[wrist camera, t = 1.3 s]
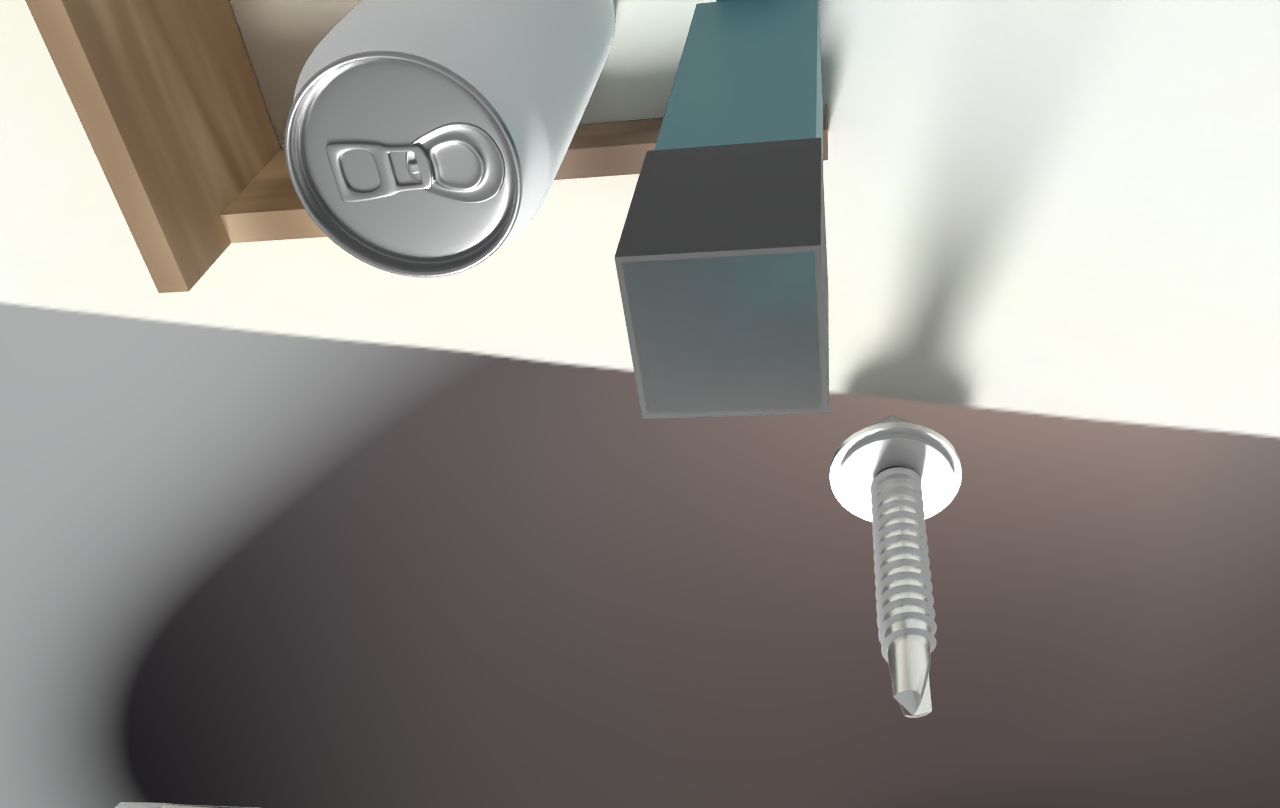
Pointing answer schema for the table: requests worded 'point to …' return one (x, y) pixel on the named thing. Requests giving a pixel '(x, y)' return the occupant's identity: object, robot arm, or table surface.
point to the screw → (900, 537)
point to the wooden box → (215, 129)
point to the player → (733, 223)
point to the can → (441, 123)
